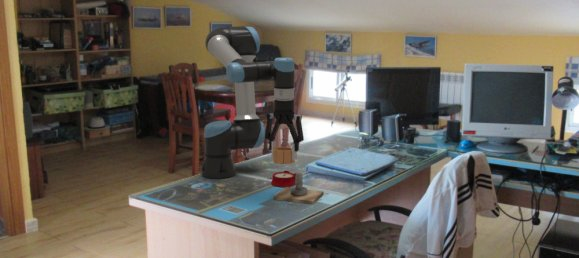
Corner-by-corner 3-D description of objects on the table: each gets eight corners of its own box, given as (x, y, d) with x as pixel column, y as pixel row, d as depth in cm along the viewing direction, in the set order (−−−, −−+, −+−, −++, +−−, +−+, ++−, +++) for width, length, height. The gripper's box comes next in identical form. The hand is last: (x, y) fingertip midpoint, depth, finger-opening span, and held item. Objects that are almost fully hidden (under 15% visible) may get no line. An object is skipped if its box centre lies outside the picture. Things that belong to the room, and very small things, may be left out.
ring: (270, 162, 219) (270, 150, 218) (279, 158, 226) (279, 146, 225) (289, 164, 216) (289, 151, 215) (297, 160, 223) (297, 147, 222)
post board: (273, 199, 222) (273, 176, 220) (285, 189, 233) (285, 167, 232) (312, 204, 216) (313, 180, 214) (323, 194, 228) (323, 171, 226)
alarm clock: (264, 176, 239) (286, 162, 250) (266, 190, 242) (288, 175, 252) (283, 181, 233) (305, 166, 244) (285, 195, 235) (307, 179, 246)
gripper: (254, 99, 217) (255, 158, 221) (306, 102, 209) (305, 163, 213) (263, 96, 223) (263, 153, 228) (313, 99, 215) (312, 158, 220)
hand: (284, 158), depth 220 cm, fingers closed on ring, 8 cm apart
